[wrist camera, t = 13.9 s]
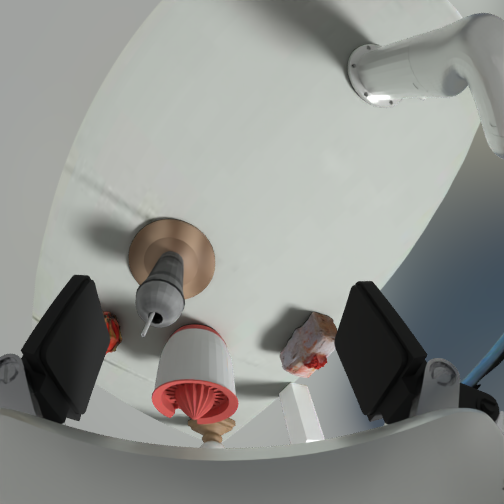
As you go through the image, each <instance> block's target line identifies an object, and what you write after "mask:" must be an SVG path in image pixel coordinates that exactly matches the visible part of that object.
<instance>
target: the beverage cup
mask: <svg viewBox="0 0 504 504" xmlns="http://www.w3.org/2000/svg"><path fill="white" fill-rule="evenodd" d="M183 276H184V262H183V259H182V257H181V256H180V255H179V254H178V253H176V252H173V251H168V252H165V253H163V254H162V255H161V257H160V258H159V259H158V261H157V262H156V264H155V266H154V267H153V269H152V271H151V272H150V274H149V276H148V277H147V279H145V281H144V282H143V283H142V284H141V285H140V286H139V288H138V289H137V292H136V303H135V304H136V308H137V312H138V314H139V316H140V317H141V319H142V320H143V321H144V322H146V325H145V327H144V329H143V331H142V333H141V336H142V337H145V335H146V333H147V330H148V328H149V326H153V327H166V326H169V325H171V324H173V323H174V322H175V321H176V320H177V319H178V318H179V317H180V315H181V313H182V311H183V309H184V306H185V299H184V294H183Z"/></svg>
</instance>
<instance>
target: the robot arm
mask: <svg viewBox="0 0 504 504" xmlns="http://www.w3.org/2000/svg"><path fill="white" fill-rule="evenodd" d="M352 66H353V67H352ZM348 75H349V79H350V81H351V84H352V86H353V88H354V89H355V91H356V92H357V93H358V95H359V96H360V97H361V98H362V99H363V100H365V101H366V102H368V103H369V104H371V105H373V106H376V107H381V108H387V107H392V106H395V105H397V104H398V103H400V101H401V100H402V99H403V98H418V99H420V100H425V99H426V97H441V98H447V97H453V96H456V95H458V94H460V93H461V92H462V91H463V90H464V89H465V88H466V87H467V86H469V88H470V91H471V93H472V95H473V98H474V101H475V104H476V107H477V110H478V113H479V116H480V120H481V123H482V127H483V130H484V133H485V137H486V140H487V143H488V145H489V147H490V148H491V150H492V151H493V152H494V153H495V154H496V155H497V156H499V157H500V158H502V159H504V20H502V19H501V18H499V17H497V16H495V15H492V14H489V13H479V14H473V15H470V16H467V17H465V18H462V19H460V20H458V21H456V22H454V23H452V24H450V25H447V26H445V27H442V28H440V29H436V30H433V31H430V32H427V33H423V34H420V35H417V36H413V37H410V38H407V39H404V40H401V41H398V42H395V43H392V44H389V45H386V46H383V47H382V46H379V45H375V44H366V45H363V46H360V47H358V48H357V49H355V50H354V51H353V52H352V54H351V55H350V58H349V61H348ZM109 344H110V335H109V332H108V329H107V325H106V322H105V319H104V316H103V312H102V309H101V305H100V301H99V298H98V294H97V290H96V286H95V283H94V281H93V280H91V279H90V277H89V276H87V275H74V276H73V277H72V278H71V279H70V280H69V282H68V283H67V284H66V286H65V287H64V288H63V289H62V291H61V292H60V293H59V295H58V296H57V297H56V299H55V300H54V301H53V303H52V304H51V306H50V307H49V308H48V310H47V311H46V313H45V314H44V316H43V317H42V318H41V320H40V321H39V323H38V324H37V326H36V327H35V329H34V330H33V332H32V333H31V335H30V336H29V338H28V340H27V341H26V343H25V344H24V346H23V348H22V349H21V351H22V353H23V357H22V358H20V357H19V356H18V355H15V354H6V355H3V356H1V357H0V504H504V412H503V411H501V412H500V413H499V407H498V404H497V402H496V400H495V399H494V398H493V397H492V396H490V395H489V394H487V393H484V392H482V391H479V390H477V389H474V388H472V387H469V386H467V385H465V384H462V383H460V376H459V373H458V370H457V369H456V368H455V366H454V365H453V364H451V363H450V362H449V361H447V360H445V359H441V358H434V359H432V360H430V361H429V362H428V363H427V362H426V361H425V358H426V357H427V353H426V352H425V351H424V349H423V348H422V346H421V345H420V343H419V342H418V341H417V339H416V338H415V336H414V335H413V334H412V332H411V331H410V330H409V328H408V327H407V325H406V324H405V323H404V321H403V320H402V319H401V317H400V316H399V315H398V313H397V312H396V311H395V309H394V308H393V307H392V305H391V304H390V303H389V302H388V300H387V299H386V298H385V297H384V295H383V294H382V293H381V291H380V290H379V289H378V288H377V286H376V285H375V284H374V283H373V282H372V281H359V282H357V283H356V284H355V285H354V286H352V288H351V290H350V294H349V297H348V300H347V303H346V307H345V310H344V313H343V316H342V319H341V322H340V325H339V328H338V331H337V334H336V336H335V340H334V345H335V348H336V351H337V353H338V355H339V358H340V360H341V362H342V365H343V367H344V369H345V372H346V374H347V376H348V379H349V381H350V384H351V386H352V388H353V390H354V393H355V396H356V398H357V400H358V403H359V405H360V408H361V410H362V412H363V414H364V415H367V416H368V419H369V421H370V422H371V421H374V420H378V419H382V418H383V419H384V421H385V424H384V426H382V427H378V428H374V429H370V430H366V431H363V432H358V433H354V434H350V435H345V436H341V437H336V438H331V439H325V440H319V441H313V442H307V443H299V444H291V445H282V446H271V447H258V448H235V449H234V448H229V449H228V448H226V449H225V448H191V447H177V446H166V445H157V444H149V443H142V442H136V441H129V440H124V439H119V438H113V437H109V436H104V435H100V434H96V433H91V432H88V431H84V430H80V429H76V428H72V427H69V426H66V424H65V420H66V417H67V418H70V419H73V420H77V421H79V420H80V417H81V414H84V413H85V412H86V409H87V406H88V403H89V400H90V396H91V393H92V390H93V388H94V385H95V382H96V379H97V376H98V373H99V371H100V368H101V365H102V362H103V360H104V357H105V355H106V352H107V349H108V347H109Z"/></svg>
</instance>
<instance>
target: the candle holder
mask: <svg viewBox="0 0 504 504" xmlns="http://www.w3.org/2000/svg"><path fill="white" fill-rule="evenodd" d="M188 426H190V427H191V429H192V430H193V431H195V432H198V433H200V434H201V435H203V437H202V440H203V442H204V443H203V444H202V445H201V447H200V448H225V447H224V445H223V444H221V442H222V437H221V435H223V434H224V433H227V432H229V431H231V430H232V427H234V426H235V421H234V420H232V419H230V418H227V419H225V420H222V421H220V422H216V423H211V424H197V419H196V420H194V419H190V420H189V421H188Z"/></svg>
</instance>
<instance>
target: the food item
mask: <svg viewBox="0 0 504 504" xmlns="http://www.w3.org/2000/svg"><path fill="white" fill-rule="evenodd" d="M333 321H334V320H333V319H332V318H330V317H328V316H327V315H322V314H319V313H316V312H312V314H311V316H310V317H309V319H308V320H307V321H306V322H305V323H304V325H303V326H302V327H300V328H297V329H296V330H295V331H294V333H293V334H292V338H291V339H290V340H289V341H288V343H287V346H286V347H284V349H283V351H281V354H280V358H281V362H282V365H283V366H282V367H283V369H284V370H286V371H287V372H289V373H291V374H293V375H296V376H299V377H304V378H309V376H310V375H311V374H312V373H313V372H314V371H315V370H316V369H319V368H321V367H324V365H325V364H326V363H327V357H328V356H329V355H330V354H331V353H332V352H333V351H334V350H335V349H336V348H335V345H334V340H335V336H336V334H337V328H336V326H335V324H334V323H333Z"/></svg>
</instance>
